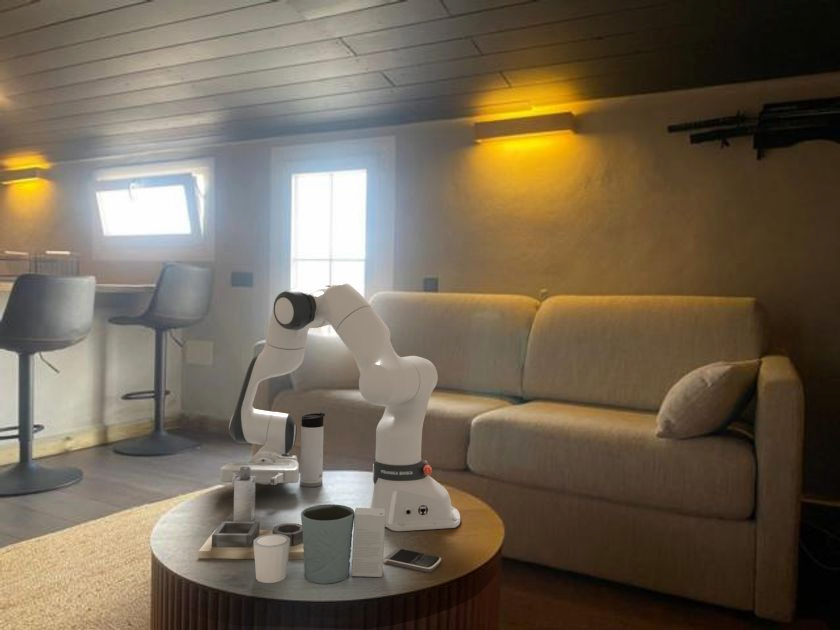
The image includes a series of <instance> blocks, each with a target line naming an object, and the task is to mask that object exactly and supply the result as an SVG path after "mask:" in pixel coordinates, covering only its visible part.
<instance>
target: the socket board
mask: <svg viewBox="0 0 840 630" xmlns="http://www.w3.org/2000/svg"><path fill="white" fill-rule="evenodd" d="M260 524H261V523H260V521H252V522H236V521H234V520H233V521H231V520H230V521H226V520H225V521H223V520H222V522H220V524H219V525H218V527H217V528H216V529H214V530H213V532H212V533H211V535H210V536H209V537H208V538H207V540H206V541H205V543H203V545H202V546H201V547H200V549H199V550H198V559H221V560H222V559H229V560H231V559H232V560H234V559H235V560H240V559H241V560H244V559H245V560H246V559H247V560H249V559H251V560H255V556H254V540H255V539H256V538H257V537H260V536H263V535H267V534H282V535H285V536H288V537H289V538H290V547H289V556H288V560H304V554H303V552H304V549H303V546H304V545H303V530H302V524H301V523H297V522H296V523H294V522H293V523H292V522H291V523H290V522H289V523H287V522H286V523H281V524H277V525H275V526H274V527H273V529H260Z"/></svg>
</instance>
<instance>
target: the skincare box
mask: <svg viewBox="0 0 840 630" xmlns="http://www.w3.org/2000/svg"><path fill="white" fill-rule="evenodd" d="M385 528H386V527H385V509H374V508H370V507H355V510H354V522H353V530H352V550H351V554H352V555H351V556H352V557H351V570H350V571H351V573H350V574H351V576H352V577H368V578H369V577H370V578H371V577H372V578H374V577H375V578H382V577H383V569H384V562H383V559H384V555H385V553H384V552H385V551H384V549H385V533H386V532H385V531H386V529H385Z"/></svg>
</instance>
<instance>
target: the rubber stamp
mask: <svg viewBox="0 0 840 630" xmlns="http://www.w3.org/2000/svg"><path fill="white" fill-rule="evenodd" d="M233 486H234V488H233V521H236V522H254V519H255V516H256V515H255V514H256V513H255V512H256V511H255V510H256V483H255V476H250V467H241V468H240V476H238V477H237V478H236V479H235V481H234V484H233Z"/></svg>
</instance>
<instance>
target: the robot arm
mask: <svg viewBox="0 0 840 630" xmlns="http://www.w3.org/2000/svg"><path fill="white" fill-rule="evenodd" d="M326 326H331V327H332V329H333V330H334V332H335V333H336V335H337V336H338V337H339V338H340V340H341V341H342V343H343V344H344V345H345V347H346V348H347V350H348V351H349V352H350V354H351V355H352V357H353V359H354V361H355V363H356V366H357V368H358V371H359V374H360V375H359V380H358V390H359V391H360V392H359V393H360V394H361V396H362V397H363V400H365V401H366V402H367V403H368V404H370V405H374V406H380V407H385V409H384V412H383V415H382V416H381V418H380V420H379V422H378V424H377V426H376V429H375V458H374V459H373V464H372V481H373V488H372V489H373V491H372V496H371V501H370V507H369V508H374V509H385V528H387V529H389V530H391V531H393V532H407V531H410V532H411V531H422V530H423V531H424V530H426V531H427V530H437V529H439V530H442V529H454V528H457V527H458V526H459V525H460V524H461V514H460V512H459V510H458V509H457V508H456V507H454V506H452V501H451V497H450V493H449V492H448V490H447V489H446V488H445V486H443V485H441V483H439V482H438V481H437V480H435V479H434V478H433V477H431V476H430V475H431V474H432V473H433V469H432V466H431V465H430V463H429V462H428V461H427V460H426V459H423V458H422V438H423V427H424V426H423V425H424V421H425V417H426V412H427V409H428V406H429V401H430V398H431V395H432V393H433V391H434V389H435V388H436V387H437V384H438V380H439V375H438V371H437V368H436V366H435V365H434V363H433V362H432V361H431V360H429V359H427V358H425V357H421V356H417V355H409V356H402V357H401V356H400V355H399V354H397V352H396V351H395V349H394V347H393V344H392V342H391V335H392V334H391V330H390V329H389V327H388V326H387V325H386V323H385V322H384V320H383V319H382V318H381V317H380V315H379V314H378V313H377V311H376V310H375V309H374V307H372V305H371V304H370V303H369V301H367V299H366V298H365V297H364V296H363V295H362V294H361V293H360V292H359V291H357V289H356V288H355V287H353V286H352V285H351V284H349V283H346V282H337V283H334V284H332V285H325V286H324V285H316V286H313V285H307V286H302V287H298V288H289V289H287V290H283V291H282V292H280V293H279V294H278V295H277V296H276V297H275V299H274V301H273V309H272V312H271V315H270V317H269V321H268V326H267V329H266V335H265V341H264V346H263V348H262V351H261V352H260V353H259V354H258V355H255V356H254V357H253V358H252V359H251V361H250V363H249V365H248V367H247V370H246V374H245V376H244V379H243V382H242V386H241V389H240V392H239V395H238V399H237V403H236V406H235V409H234V412H233V414H232V416H231V418H230V421H229V425H228V433H229V435H230V437H231V438H232V439H233V440H234V441H235V442H236V443H238V444H254V445H259V446H261V447H260V448H259V449H258V451H257V452H256V453H255V454H254V455H253V456H252V457H251V458H250V460H249V462H247V461H246V462H240V461H239V462H238V461H237V462H236V461H235V462H229V463H226V464H225V465H223V466H221V467H220V468H219V481H220V482H221V483H232V485H234V481H235V479H236V478H237V477H238V476H240V468H241V467H250V476H255V484H259V485H272V486H273V485H274V486H275V485H277V484H297V483H298V482H299V481H300V463H299V462H298V461H299V460H298V456H297V455H292V454H290V452H291V451H292V450H293V449H294V448H295V447H294V446H295V445H296V444H295V443H296V440H297V433H298V432H297V431H298V430H297V429H298V427H297V423H296V420H295V419H294V417H293V416H292V415H291V414H290V413H285V412H280V411H271V410H265V409H264V410H263V409H257V408H255V407H254V405H253V404H254V401H255V397H256V395H257V391H258V387H259V384H260V383H261V382H263V381H265V380H267V379H268V380H269V379H272V378H276V377H277V378H278V377H282V376H285V375H288V374H291V373H292V372H294V371H296V370H297V369H298V368H299V367H300V366H301V365H302V364H303V362H304V358H305V354H306V350H307V349H306V348H307V342H308V332H309V330H310V329H318V328H322V327H326Z"/></svg>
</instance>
